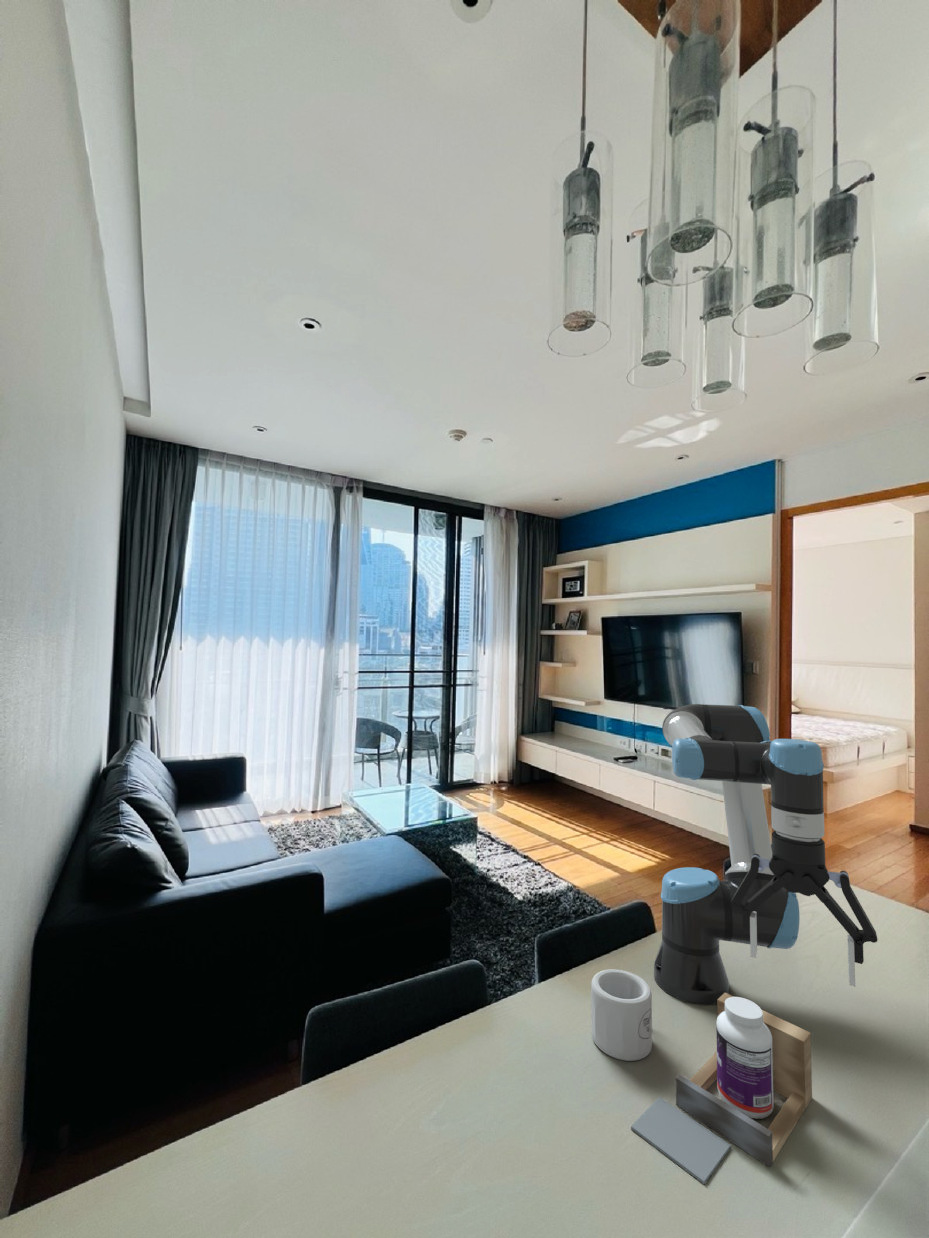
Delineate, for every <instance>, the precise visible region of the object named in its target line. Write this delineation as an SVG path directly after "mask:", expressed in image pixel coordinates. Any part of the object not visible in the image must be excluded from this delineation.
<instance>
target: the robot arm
mask: <svg viewBox="0 0 929 1238" xmlns="http://www.w3.org/2000/svg"><path fill="white" fill-rule="evenodd" d="M661 728H662V735H663V736H664V737H663V738H665V740H666V742H667V743H668V744H669V745H670V746H671V764H672V771H673V774H674V775H675V776H676V777H677V778H682V779H690V780H692V781H697V780H701V781H702V780H703V781H704V780H705V781H718V782H721V783H722V793H723V801H724V811H725V820H726V828H727V838H728V846H729V847H728V848H729V856H730V864H731V866H730V867H729V868H728V869H727V870H726V871H725V872H724V873H725V875H724V876H725V880H720V878H719V877H718V875H717V874H716V873H714V872H713V871H711V870H709V869H704V868H702V867H701V868H700V867H695V866H694V867H689V866H687V867H678V868H675V869H672V870H669V871H668V872H666V873H665V874H664V875H663V877H662V880H661V893H660V899H661V935H662V936H661V942H660V945H659V948H658V950H657V954H656V956H655V960H654V962H653V963H654V964H653V977H654V978H653V979H654V981H655V982H656V984H657V985H658V986H659V988H661V989H662V990H663V991H664V992H666V993H668V994H669V995H670V996H672V997H674V998H676V999H679V1000H681V1001H683V1002H687V1003H689V1004H690V1003H691V1004H696V1005H701V1006H702V1005H704V1006H709V1005H713V1006H714V1005H717V999H719V998H720V997H721V996H722V995H723V994H724V993H727V994H729V995H730V983H729V982H730V981H729V978H728V975H727V971H726V968H725V966H724V963H723V962H724V961H723V959H722V956H721V953H720V941H723V942H724V941H725V942H731V943H739V944H743V945H744V944H745V945H750V947H749V948H750V952H749V953H750V957H751V958H754V959H756V958H757V954H758V946H759V947H764V948H767V949H772V948H773V949H781V950H789V949H791V948H793V947H794V946H795V944H796V943H797V940H798V937H799V930H800V919H801V918H800V904H799V900H798V898H797V897H798V896H797V893H798V894H800V895H802V896H806V897H811V896H816V897H817V898H818V900H819V901H820V902H821V903H822V904H824V906H825V907H826V908H827V909H828V911H829V912H830V913H831V914H832V916H833V917H834V918H835V919H836V921H837V922H838V923H839V924H840V925H841V927H842V928H844V930H845V931H846V932H847V934H846V935H847V936H846V937H847V963H848V964H847V965H848V966H847V968H848V971H847V972H848V983H849V984H848V985H849V986H851V987H854V988H855V987H856V963H857V964H860V965H863V963H864V962H865V961H864V959H865V958H864V943H867V942H871V943H873V944H874V943H877V942H878V935H877V931H876V929H875V927H874V926H873V924H872V922H871V920H870V918H869V917H868V915H867V913H866V912H865V910H864V908H863V906H862V904H861V902H860V901H859V899H858V897H857V895H856V894H855V891H854V890H853V888H852V887H851V881H850V876H849V873H848V872H847V871H845V870H840V871H839V872H838V871H837V872H836V871H828V869H827V867H826V843H825V841H824V839H823V838H824V837H825V812H824V810H825V809H824V808H825V807H824V806H825V805H824V804H825V803H824V767H825V766H824V764H825V763H824V761H823V754H822V748H821V746H820V745H819V744H818V743H817V742H814V741H810V740H809V741H808V740H806V739H805V740H804V739H797V738H776V739H773V740H771V738H770V737H771V734H770V728H769V725H768V722H767V719H766V717H765V716H764V713H763V712H762V711H761V710H760V709H758V708H757V707H754V706H749V705H748V706H746V705H742V704H737V705H726V704H725V705H723V704H704V703H703V704H702V703H695V704H694V703H693V704H687V705H686V704H685V705H683V706H679V707H677V708H675V709H673V710H672V711H670V712H669V713H667V715H666V716H665V718H664V720H663V721H662V727H661ZM763 785H769V786H770V799H771V800H770V801H771V802H770V803H771V804H770V810H771V811H770V815H771V816H770V817H771V818H770V819H771V820H770V821H771V828H772V830H773V832H771V837H770V831H769V822H768V817H767V811H766V810H767V809H766V803H765V797H764V790H763ZM829 881H832V882H833V883H834V885H835V887H837V888H840V889H841V892H842V894H843V896H844V898H845V900H846V901H847V903H848V905H849V907H850V909H851V910H852V912H853V915H854V916H855V918H856V919H857V921H858V923H859V925H860V926H861V928H862V929H860V928H859V927H858V926H857V925H856V923H854V921H853V919H852V918H850V917H849V915H848V914H847V913H846V911H844V909H843V908H842V907H841V906H840V905H839V903H838V902H837V901H836V900H835V899H834V897H833V896H832V894H830V892H829V891H828V889H827V888H826V887H825V885H826V884H827V883H828V882H829Z"/></svg>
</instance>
